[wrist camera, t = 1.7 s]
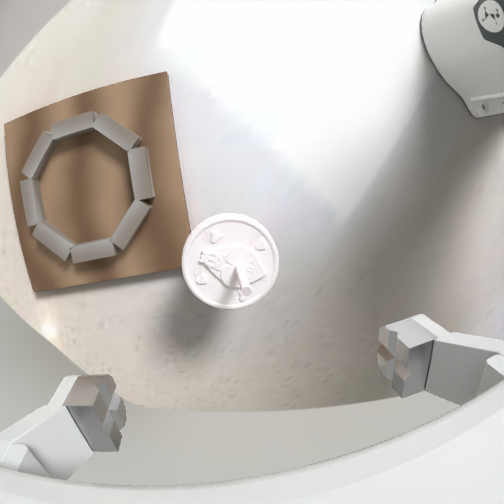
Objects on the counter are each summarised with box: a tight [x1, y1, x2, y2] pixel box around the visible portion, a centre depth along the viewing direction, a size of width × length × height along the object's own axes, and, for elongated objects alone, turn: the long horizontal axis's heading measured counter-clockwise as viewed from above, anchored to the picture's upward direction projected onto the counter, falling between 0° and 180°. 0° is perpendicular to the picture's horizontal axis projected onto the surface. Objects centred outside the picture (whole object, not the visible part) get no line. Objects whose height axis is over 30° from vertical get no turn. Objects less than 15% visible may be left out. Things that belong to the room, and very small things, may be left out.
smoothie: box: [182, 213, 279, 310], centre depth 23 cm, size 6×6×14 cm
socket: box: [4, 72, 191, 292], centre depth 25 cm, size 18×18×3 cm
